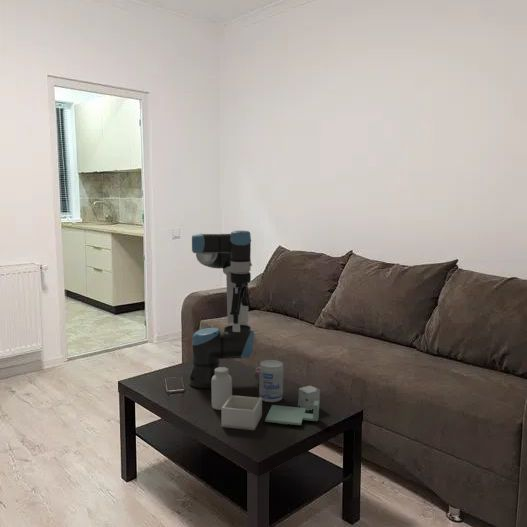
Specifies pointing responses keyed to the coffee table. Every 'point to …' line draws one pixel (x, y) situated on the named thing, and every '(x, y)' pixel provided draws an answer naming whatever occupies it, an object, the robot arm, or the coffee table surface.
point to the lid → (291, 414)
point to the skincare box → (308, 397)
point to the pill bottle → (221, 387)
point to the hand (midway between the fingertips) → (240, 326)
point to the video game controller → (257, 373)
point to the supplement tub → (271, 380)
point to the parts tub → (241, 412)
